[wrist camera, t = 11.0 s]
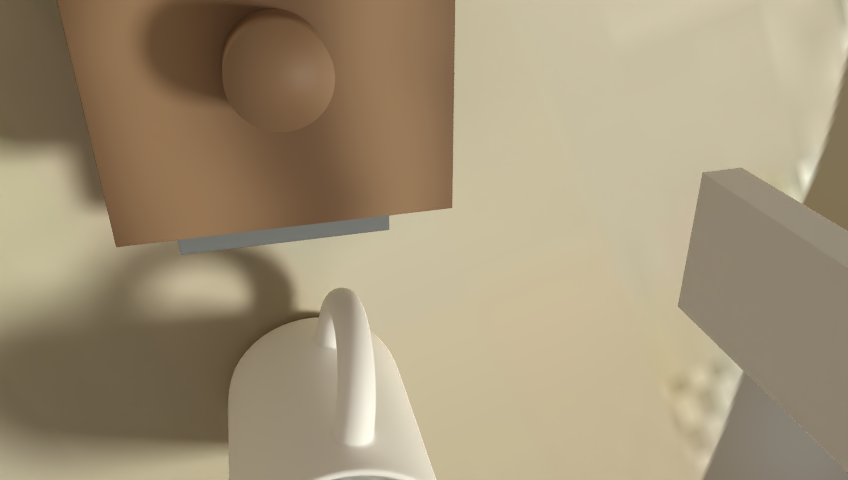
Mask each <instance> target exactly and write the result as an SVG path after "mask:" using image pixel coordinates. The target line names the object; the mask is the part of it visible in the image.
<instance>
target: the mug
mask: <svg viewBox="0 0 848 480" xmlns="http://www.w3.org/2000/svg"><path fill="white" fill-rule="evenodd" d="M228 438H229V480H436V478H435V475H434V472H433V469H432V466H431V463H430V460H429V457H428V454H427V451H426V449H425V446H424V443H423V440H422V437H421V434H420V431H419V428H418V425H417V423H416V420H415V417H414V414H413V411H412V408H411V405H410V402H409V399H408V396H407V394H406V391H405V388H404V385H403V382H402V379H401V376H400V373H399V371H398V368H397V365H396V363H395V361H394V359H393V357H392V355H391V353H390V352H389V350H388V348H387V347H386V346H385V344H384V343H383V342H382V341H381V340H380V339H379V338H378V337H377V336H376V335H375V334H374V333H372V332H371V331H370V328H369V324H368V319H367V316H366V312H365V309H364V307H363V304H362V303H361V301H360V299H359V298H358V296H357V295H356V294H355V293H354V292H353V291H351V290H350V289H346V288H338V289H334V290H333V291H331V292H330V293H329V294H328V295H327V296H326V298H325V299H324V301H323V303H322V307H321V310H320V315H319V317H314V318H307V319H301V320H297V321H293V322H290V323H287V324H284V325H282V326H280V327H278V328H275V329H273V330H271V331H270V332H268V333H267V334H265V335H264V336H262V337H261V338H260V339H258V340H257V341H256V342H255V343H254V344H253V345H252V346H251V347H250V348H249V349H248V350H247V351H246V352H245V354H244V355H243V356H242V358H241V359H240V360H239V362H238V364H237V366H236V368H235V370H234V373H233V376H232V379H231V383H230V388H229V395H228Z"/></svg>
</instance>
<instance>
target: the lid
mask: <svg viewBox="0 0 848 480" xmlns="http://www.w3.org/2000/svg"><path fill="white" fill-rule="evenodd" d="M57 3H58V7H59V11H60V15H61V20H62V24H63V28H64V32H65V36H66V40H67V44H68V49H69V53H70V57H71V61H72V65H73V69H74V74H75V78H76V82H77V86H78V90H79V94H80V98H81V103H82V107H83V111H84V115H85V119H86V123H87V128H88V132H89V136H90V140H91V144H92V148H93V152H94V157H95V161H96V165H97V169H98V173H99V177H100V182H101V186H102V190H103V194H104V198H105V202H106V206H107V211H108V215H109V219H110V223H111V227H112V231H113V236H114V240H115V244H116V247H121V246H130V245H138V244H147V243H155V242H164V241H173V240H181V239H190V238H198V237H207V236H215V235H224V234H233V233H241V232H250V231H258V230H267V229H275V228H284V227H293V226H301V225H310V224H318V223H327V222H335V221H344V220H353V219H361V218H370V217H378V216H387V215H395V214H404V213H413V212H421V211H430V210H438V209H447V208H452V178H453V109H454V39H455V0H57Z"/></svg>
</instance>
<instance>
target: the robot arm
mask: <svg viewBox="0 0 848 480" xmlns="http://www.w3.org/2000/svg"><path fill="white" fill-rule="evenodd" d="M678 307H679V308H680V309H681V310H682V311H683V312H684V313H685V314H686V315H687V316H688V317H689V318H690V319H691V320H692V321H693V322H694V323H696V324H697V325H698V326H699V327H700V328H701V329H702V330H703V331H704V332H705V333H706V334H707V335H708V336H709V337H710V338H711V339H712V340H713V341H714V342H715V343H716V344H717V345H718V346H719V347H720V348H721V349H722V350H723V351H724V352H725V353H726V354H727V355H728V356H729V357H730V358H731V359H732V360H733V361H734V362H735V363H736V364H737V365H738V366H739V367H740V368H741V369H742V370H743V371H744V372H746V373H747V374H748V375H749V376H750V377H751V378H752V379H753V380H754V381H755V382H756V383H757V384H758V385H759V386H760V387H761V388H762V389H763V390H764V391H765V392H766V393H767V394H768V395H769V396H770V397H771V398H772V399H773V400H774V401H775V402H776V403H777V404H778V405H779V406H780V407H781V408H782V409H783V410H784V411H785V412H786V413H787V414H789V416H790V417H791V418H792V419H793V420H795V421H796V422H797V423H798V424H799V425H800V426H801V427H802V428H803V429H804V430H805V431H806V432H807V433H808V434H809V435H810V436H811V437H812V438H813V439H814V440H815V441H816V442H817V443H818V444H819V445H820V446H821V447H822V448H823V449H824V450H825V451H826V452H827V453H828V454H829V455H830V456H831V457H832V458H833V459H835V461H836V462H837V463H838V464H839V465H840V466H842V467H843V468H844V469H845V470H846V471H847V472H848V231H846V230H845V229H843V228H841V227H840V226H838V225H836V224H835V223H833V222H831V221H830V220H828V219H826V218H825V217H823V216H821V215H819V214H818V213H816V212H814V211H813V210H811V209H810V208H808V207H806V206H805V205H803V204H801V203H800V202H798V201H796V200H795V199H793V198H791V197H790V196H788V195H786V194H785V193H783V192H781V191H780V190H778V189H776V188H775V187H773V186H771V185H770V184H768V183H766V182H765V181H763V180H761V179H760V178H758V177H756V176H755V175H753V174H751V173H749V172H748V171H746V170H744V169H743V168H736V169H728V170H720V171H711V172H703V174H702V179H701V184H700V190H699V195H698V201H697V206H696V211H695V217H694V222H693V228H692V233H691V238H690V244H689V249H688V255H687V260H686V265H685V271H684V276H683V282H682V287H681V293H680V298H679V303H678Z"/></svg>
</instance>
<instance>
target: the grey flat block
mask: <svg viewBox="0 0 848 480" xmlns="http://www.w3.org/2000/svg"><path fill="white" fill-rule="evenodd" d="M383 230H389V215H387V216H378V217H370V218H361V219H353V220H344V221H335V222H327V223H318V224H310V225H301V226H293V227H284V228H275V229H267V230H258V231H250V232H241V233H233V234H224V235H215V236H207V237H198V238H190V239H181V240H178V241H179V247H180V252H181V255H184V254H192V253H200V252H208V251H217V250H225V249H233V248H242V247H250V246H258V245H266V244H275V243H283V242H291V241H300V240H308V239H316V238H325V237H333V236H341V235H349V234H358V233H366V232H374V231H383Z"/></svg>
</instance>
